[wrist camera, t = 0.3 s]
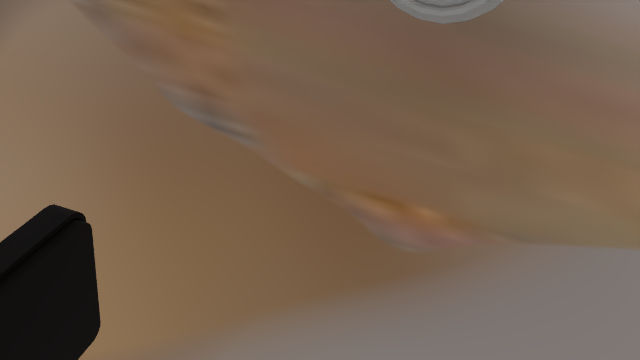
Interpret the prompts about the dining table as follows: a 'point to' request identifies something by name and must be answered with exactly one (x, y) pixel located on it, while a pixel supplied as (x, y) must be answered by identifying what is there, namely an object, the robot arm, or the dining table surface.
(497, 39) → the dining table surface
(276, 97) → the dining table surface
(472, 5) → the can
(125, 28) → the dining table surface
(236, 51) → the dining table surface
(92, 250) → the robot arm
